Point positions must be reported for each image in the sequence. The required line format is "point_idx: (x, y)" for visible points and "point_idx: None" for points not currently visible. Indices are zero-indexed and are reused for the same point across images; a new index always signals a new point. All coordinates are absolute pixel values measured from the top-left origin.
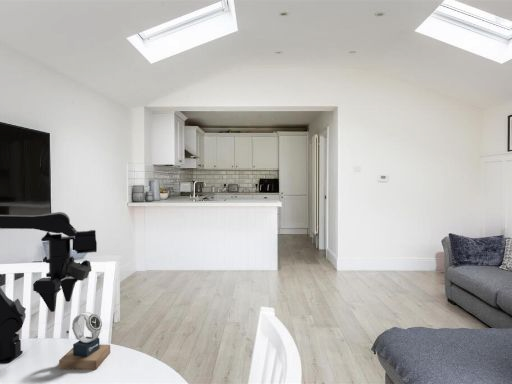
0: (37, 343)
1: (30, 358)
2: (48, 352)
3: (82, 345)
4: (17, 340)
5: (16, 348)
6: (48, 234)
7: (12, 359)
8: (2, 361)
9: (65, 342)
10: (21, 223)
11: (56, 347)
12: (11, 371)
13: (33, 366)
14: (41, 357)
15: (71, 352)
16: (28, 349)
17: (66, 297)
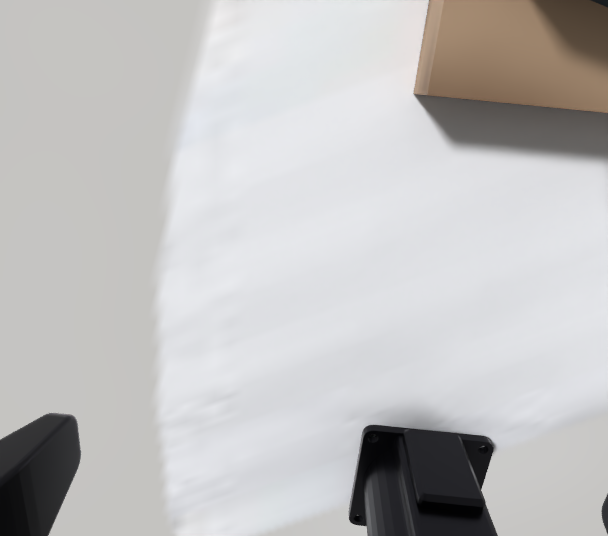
0: (234, 401)
1: (448, 359)
2: (376, 292)
3: None
4: (438, 508)
5: (462, 469)
6: None
7: (467, 438)
8: (484, 471)
9: (222, 243)
10: None
11: (302, 272)
12: (601, 387)
13: (569, 301)
14: (446, 305)
15: (597, 75)
16: (318, 414)
17: (36, 521)
